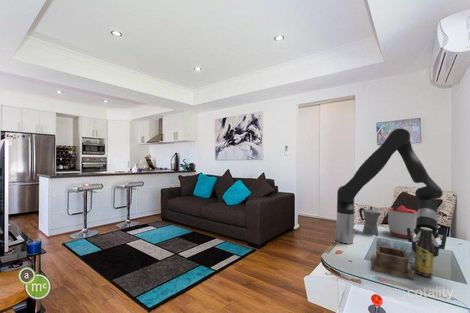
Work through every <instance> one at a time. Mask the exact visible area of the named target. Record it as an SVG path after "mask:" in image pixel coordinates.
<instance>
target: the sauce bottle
mask: <svg viewBox="0 0 470 313" xmlns="http://www.w3.org/2000/svg"><path fill="white" fill-rule="evenodd" d="M420 231H421V234H420V238H419V240H418V242H417V243H416V252H414V254H415V255H414V271H415V273H417V274H419V275H421V276H424V277H432V276H433V273H434V262H435V261H434V260H435V257H434V244H433V242H432V240H431V239H432V238H431V237H432V232H433V230H432V229H430V228H426V227H421V228H420Z"/></svg>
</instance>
